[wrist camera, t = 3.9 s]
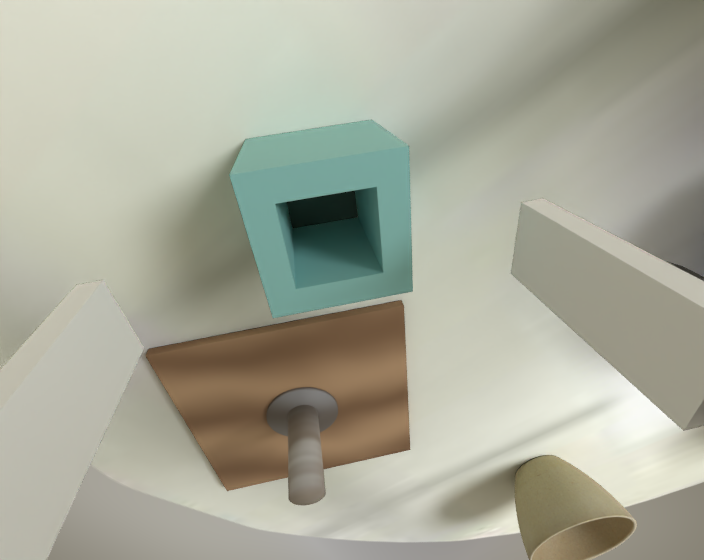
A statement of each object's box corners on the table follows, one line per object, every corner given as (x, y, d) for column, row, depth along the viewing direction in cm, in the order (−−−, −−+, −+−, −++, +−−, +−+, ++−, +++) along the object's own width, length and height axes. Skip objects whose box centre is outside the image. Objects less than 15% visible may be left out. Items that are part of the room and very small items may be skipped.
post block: (148, 349, 22) (102, 447, 16) (401, 300, 23) (438, 377, 17) (227, 483, 31) (215, 578, 25) (408, 443, 32) (434, 524, 26)
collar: (245, 139, 16) (229, 175, 11) (371, 119, 17) (409, 145, 12) (275, 251, 20) (273, 318, 15) (380, 233, 20) (412, 291, 15)
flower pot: (557, 427, 34) (615, 505, 28) (594, 459, 39) (650, 531, 33) (475, 478, 37) (511, 559, 31) (518, 502, 42) (558, 576, 36)
